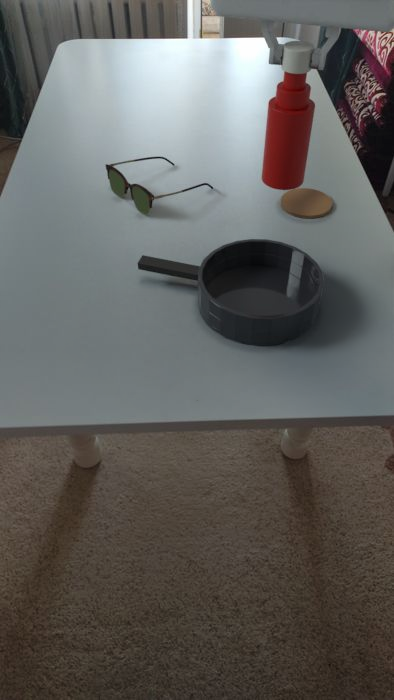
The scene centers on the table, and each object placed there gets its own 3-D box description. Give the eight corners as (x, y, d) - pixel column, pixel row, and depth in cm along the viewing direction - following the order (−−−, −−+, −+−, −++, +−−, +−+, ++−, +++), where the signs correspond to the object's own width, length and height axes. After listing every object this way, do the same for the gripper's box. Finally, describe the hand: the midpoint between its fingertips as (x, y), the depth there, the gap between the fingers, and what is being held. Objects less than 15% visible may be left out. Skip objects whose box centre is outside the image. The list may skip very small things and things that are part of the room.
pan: (326, 277, 83) (332, 250, 79) (306, 357, 72) (312, 330, 68) (217, 257, 87) (218, 230, 83) (182, 330, 75) (181, 302, 72)
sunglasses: (106, 188, 101) (104, 162, 98) (169, 168, 108) (170, 143, 105) (153, 221, 93) (153, 194, 90) (217, 197, 101) (220, 172, 97)
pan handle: (203, 273, 80) (203, 266, 79) (198, 281, 78) (198, 275, 78) (143, 261, 82) (142, 254, 81) (138, 269, 80) (137, 262, 80)
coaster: (335, 195, 99) (335, 192, 98) (327, 222, 93) (328, 219, 93) (285, 187, 101) (286, 184, 100) (275, 213, 95) (275, 210, 95)
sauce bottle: (306, 172, 75) (327, 40, 63) (299, 193, 71) (320, 57, 59) (266, 166, 76) (279, 35, 64) (257, 186, 72) (269, 51, 60)
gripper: (202, -87, 53) (202, 65, 63) (423, -75, 49) (384, 86, 59) (220, -98, 57) (217, 47, 67) (425, -88, 53) (388, 65, 63)
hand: (296, 65), depth 63 cm, fingers closed on sauce bottle, 3 cm apart
